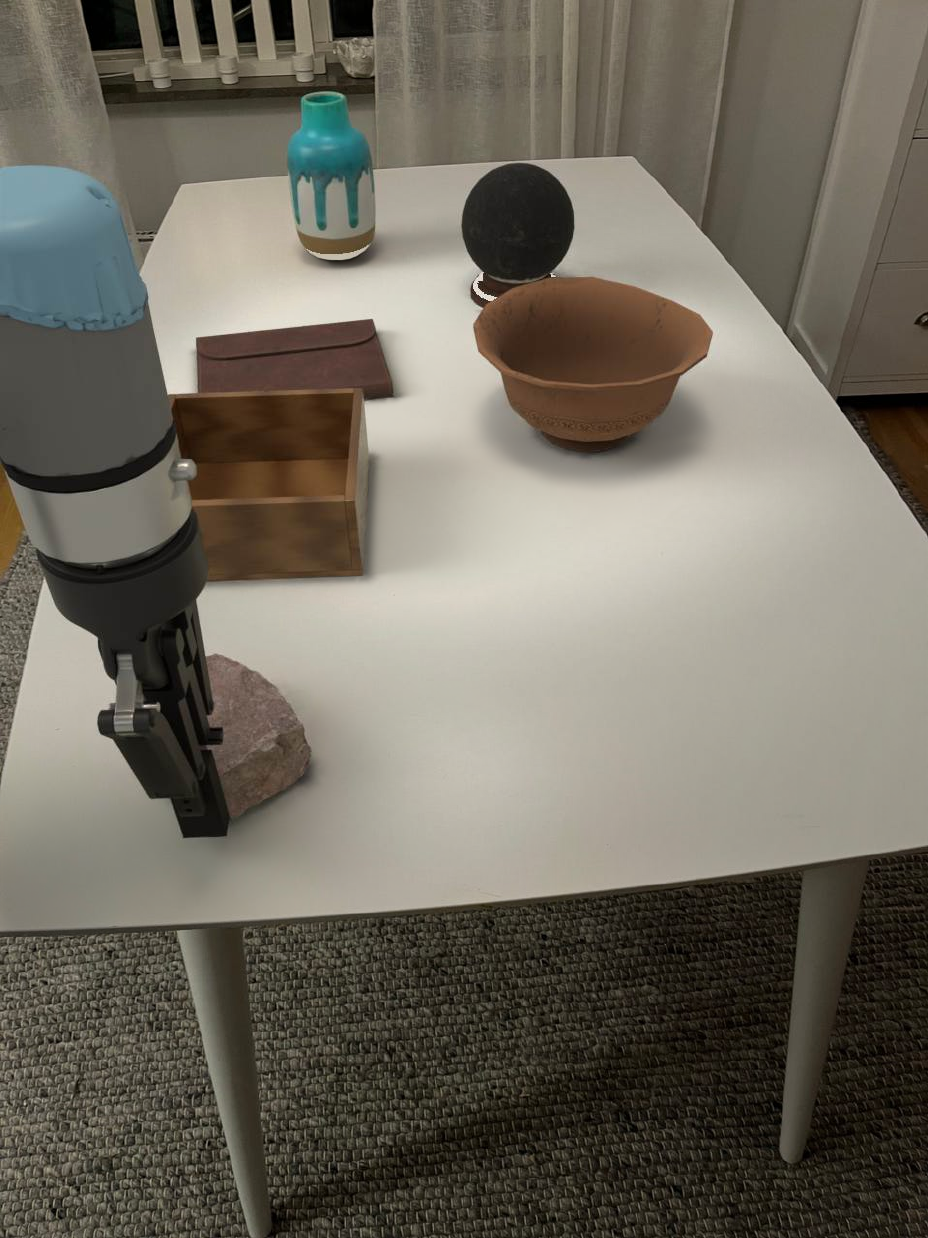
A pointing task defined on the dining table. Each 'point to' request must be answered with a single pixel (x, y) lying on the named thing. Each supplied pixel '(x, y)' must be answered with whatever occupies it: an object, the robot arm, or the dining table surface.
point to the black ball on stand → (516, 227)
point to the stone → (253, 735)
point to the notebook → (295, 360)
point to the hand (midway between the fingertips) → (206, 827)
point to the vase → (331, 178)
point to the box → (277, 480)
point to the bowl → (589, 356)
